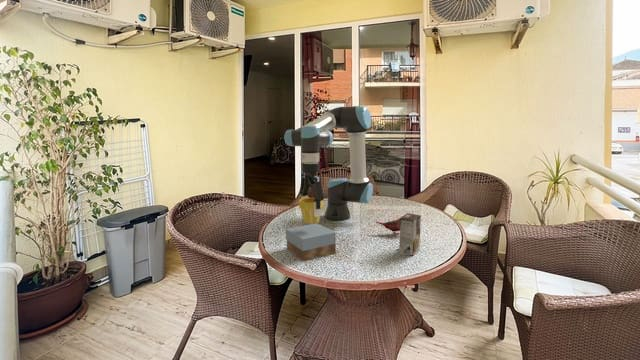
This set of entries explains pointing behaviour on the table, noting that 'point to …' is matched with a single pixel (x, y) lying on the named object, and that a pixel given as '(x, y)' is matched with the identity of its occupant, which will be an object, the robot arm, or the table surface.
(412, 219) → the coffee box
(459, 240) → the table surface
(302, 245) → the tower top
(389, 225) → the decorative bird figurine
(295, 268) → the table surface
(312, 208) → the plant pot
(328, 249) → the tower base
